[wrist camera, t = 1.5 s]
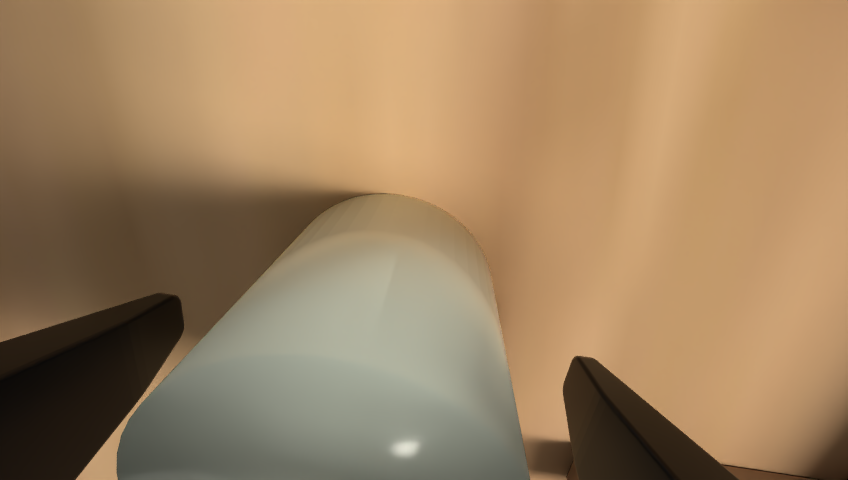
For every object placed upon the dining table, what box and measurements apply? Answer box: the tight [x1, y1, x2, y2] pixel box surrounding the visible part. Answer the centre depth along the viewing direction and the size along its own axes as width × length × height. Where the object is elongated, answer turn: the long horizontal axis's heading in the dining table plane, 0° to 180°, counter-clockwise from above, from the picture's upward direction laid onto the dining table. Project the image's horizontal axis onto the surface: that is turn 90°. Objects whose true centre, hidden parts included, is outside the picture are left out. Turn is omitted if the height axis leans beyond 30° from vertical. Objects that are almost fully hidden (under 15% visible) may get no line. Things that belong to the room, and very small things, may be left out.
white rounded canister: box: [117, 194, 530, 480], centre depth 8 cm, size 6×6×6 cm
